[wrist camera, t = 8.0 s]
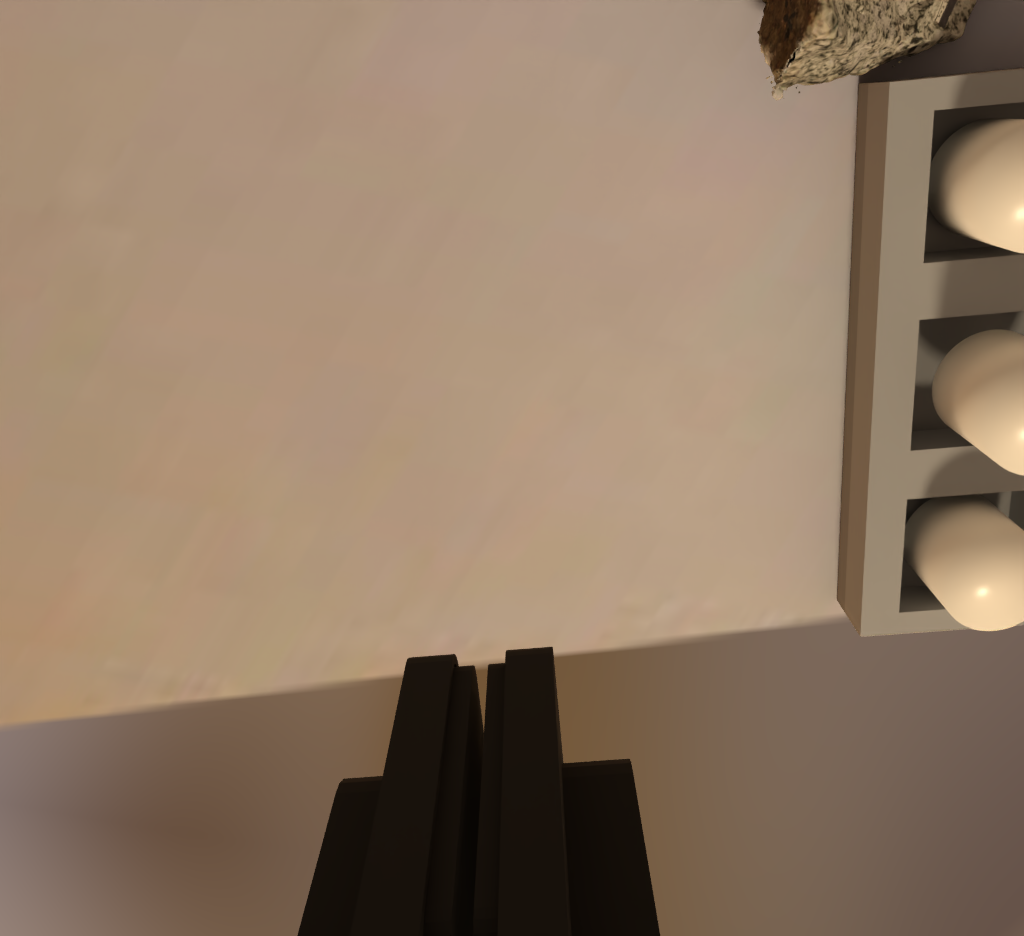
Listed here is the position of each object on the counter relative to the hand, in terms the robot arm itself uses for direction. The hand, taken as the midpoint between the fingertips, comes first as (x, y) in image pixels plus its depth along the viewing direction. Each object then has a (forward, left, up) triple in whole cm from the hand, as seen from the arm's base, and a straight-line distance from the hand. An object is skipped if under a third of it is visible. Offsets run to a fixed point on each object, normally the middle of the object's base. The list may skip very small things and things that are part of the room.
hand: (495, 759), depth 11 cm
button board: (+4, +17, -27) cm, 32 cm away
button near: (-3, +17, -26) cm, 31 cm away
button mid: (+4, +17, -24) cm, 29 cm away
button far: (+11, +17, -26) cm, 33 cm away
